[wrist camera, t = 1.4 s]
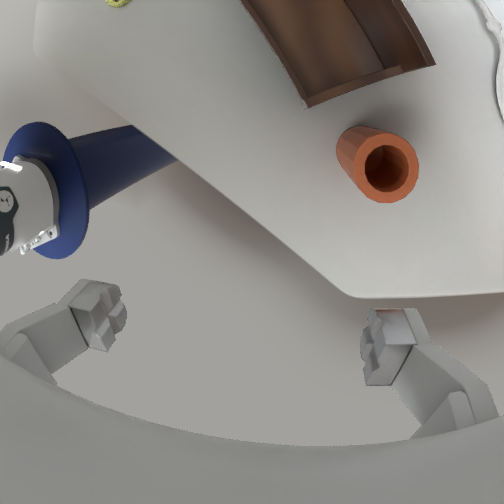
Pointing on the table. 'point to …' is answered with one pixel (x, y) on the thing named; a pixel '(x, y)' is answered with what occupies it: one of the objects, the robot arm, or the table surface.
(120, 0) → the key
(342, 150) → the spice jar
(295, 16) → the box
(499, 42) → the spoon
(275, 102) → the table surface
